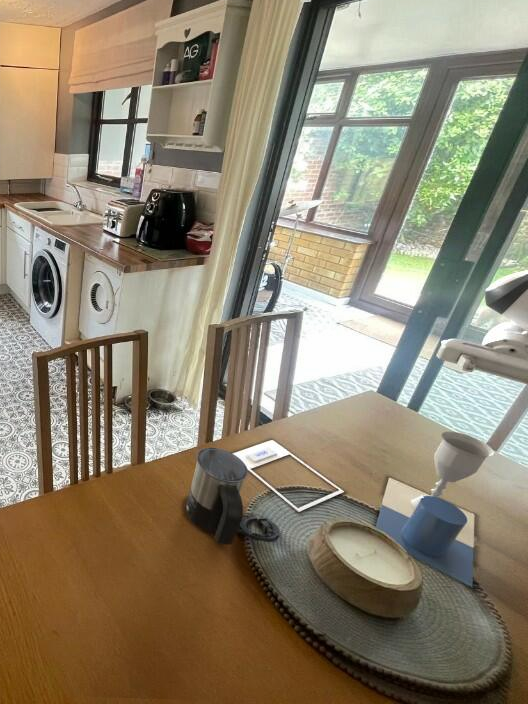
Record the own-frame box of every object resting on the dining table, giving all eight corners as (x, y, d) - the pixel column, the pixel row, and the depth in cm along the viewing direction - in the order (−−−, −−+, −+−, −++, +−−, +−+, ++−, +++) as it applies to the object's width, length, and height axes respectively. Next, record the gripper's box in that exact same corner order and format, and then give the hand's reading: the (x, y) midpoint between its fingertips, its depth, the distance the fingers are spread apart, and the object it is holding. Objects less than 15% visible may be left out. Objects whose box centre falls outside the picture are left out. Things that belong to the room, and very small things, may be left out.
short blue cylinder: (424, 527, 83) (444, 496, 79) (454, 557, 77) (477, 525, 73) (392, 527, 83) (411, 495, 79) (420, 557, 77) (441, 524, 74)
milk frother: (174, 502, 90) (187, 450, 83) (237, 490, 93) (254, 439, 86) (216, 563, 77) (234, 507, 71) (287, 547, 80) (311, 493, 74)
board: (387, 480, 96) (389, 477, 95) (472, 517, 86) (474, 514, 86) (371, 539, 82) (373, 536, 81) (470, 591, 73) (472, 587, 72)
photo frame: (272, 439, 106) (344, 490, 91) (271, 442, 107) (342, 494, 92) (230, 453, 101) (299, 511, 86) (229, 457, 102) (297, 514, 87)
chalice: (442, 502, 89) (482, 438, 81) (456, 527, 83) (502, 460, 75) (399, 491, 91) (435, 427, 84) (411, 514, 86) (450, 448, 78)
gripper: (449, 327, 96) (438, 344, 88) (590, 362, 81) (592, 386, 73) (437, 350, 98) (425, 369, 91) (572, 388, 84) (572, 415, 76)
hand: (501, 377), depth 82 cm, fingers open, 8 cm apart
